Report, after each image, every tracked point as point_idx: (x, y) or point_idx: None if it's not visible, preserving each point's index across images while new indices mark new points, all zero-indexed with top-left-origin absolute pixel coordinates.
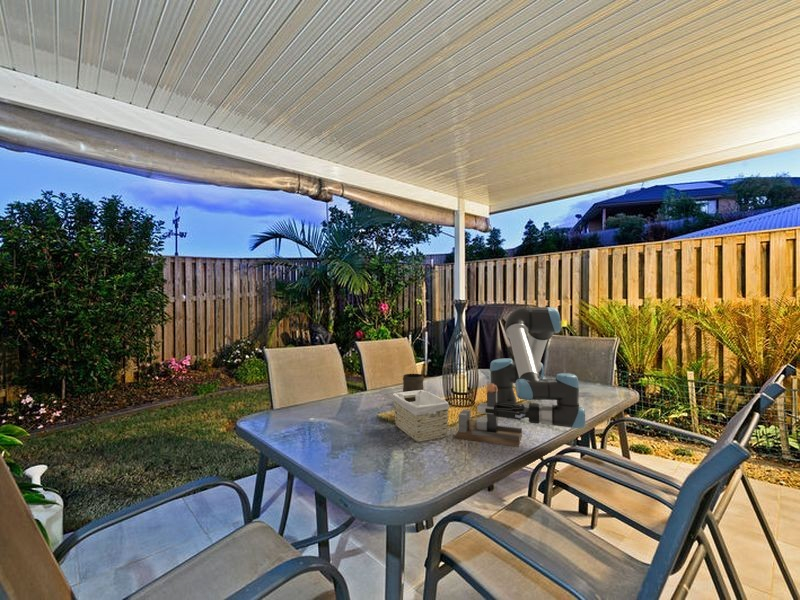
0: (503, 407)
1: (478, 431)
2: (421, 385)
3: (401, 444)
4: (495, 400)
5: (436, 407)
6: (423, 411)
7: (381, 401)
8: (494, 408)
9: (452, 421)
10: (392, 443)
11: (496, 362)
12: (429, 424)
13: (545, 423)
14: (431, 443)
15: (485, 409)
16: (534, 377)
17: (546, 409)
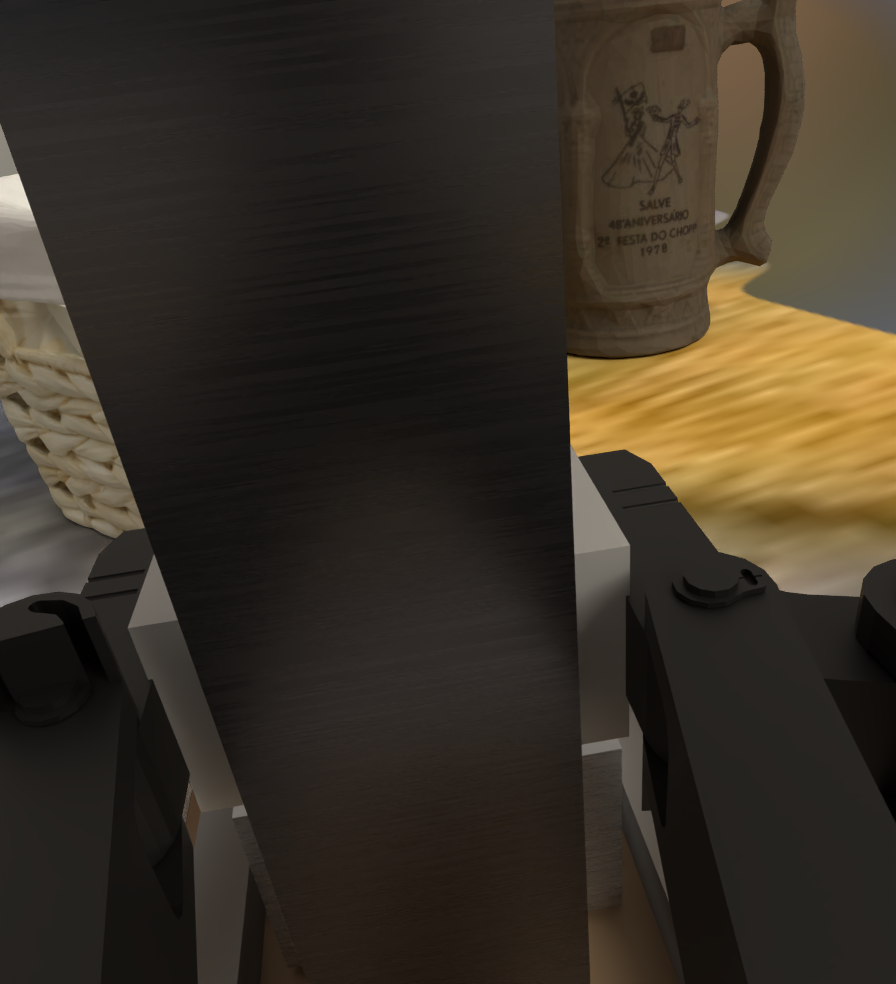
0: (696, 888)
1: (201, 818)
2: (631, 65)
3: (4, 482)
4: (100, 386)
5: (11, 253)
6: None
7: (717, 215)
8: (3, 682)
9: (728, 478)
10: (21, 452)
11: None
12: (81, 416)
13: None
14: (43, 583)
15: (127, 543)
16: None
17: None
